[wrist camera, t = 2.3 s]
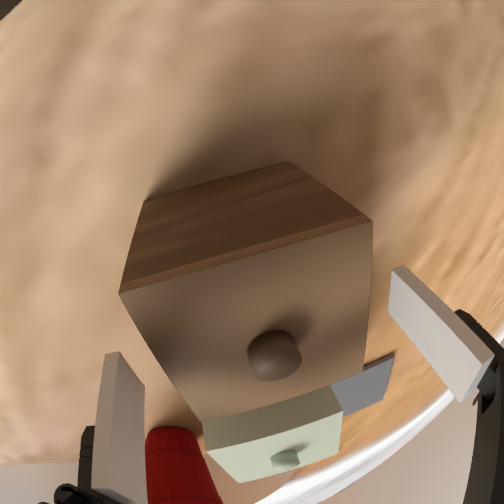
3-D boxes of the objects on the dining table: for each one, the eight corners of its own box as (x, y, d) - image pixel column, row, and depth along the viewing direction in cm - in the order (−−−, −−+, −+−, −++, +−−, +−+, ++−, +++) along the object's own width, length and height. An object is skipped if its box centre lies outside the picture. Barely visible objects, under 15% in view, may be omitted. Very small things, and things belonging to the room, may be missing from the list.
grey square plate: (311, 386, 30) (313, 391, 29) (391, 353, 31) (394, 357, 30) (314, 423, 35) (315, 427, 35) (380, 396, 36) (382, 399, 35)
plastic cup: (229, 418, 30) (253, 515, 20) (202, 455, 34) (217, 532, 24) (130, 407, 26) (133, 516, 16) (122, 447, 30) (126, 529, 20)
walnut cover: (143, 201, 17) (113, 313, 8) (290, 161, 18) (388, 233, 9) (188, 314, 22) (203, 438, 13) (306, 280, 22) (370, 384, 14)
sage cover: (192, 352, 24) (208, 464, 15) (298, 321, 24) (349, 422, 16) (221, 405, 28) (241, 492, 20) (305, 380, 29) (341, 462, 21)
